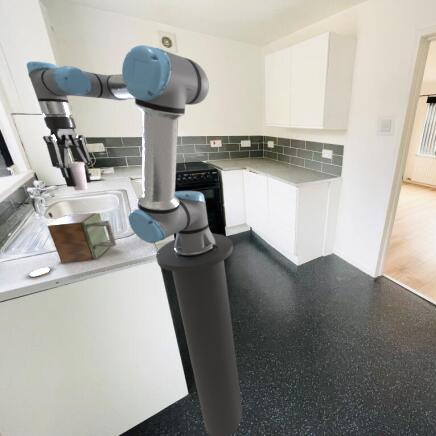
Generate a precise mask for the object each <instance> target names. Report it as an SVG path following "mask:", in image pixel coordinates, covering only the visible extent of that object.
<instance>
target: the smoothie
mask: <svg viewBox="0 0 436 436" xmlns="http://www.w3.org/2000/svg"><path fill="white" fill-rule="evenodd" d="M67 154H68V160H69V161H70V162H69V161H68V168H71V170H72V173H73V176H74V179H75V183H76V186H75V187H73V189H74V191H85V190H88V189H89V187H88V183H87V181H86V174H85V167H84V165H85V163H84V162H78V161H73V159H72V156H71V155H72V154H71V153H70V150H69V149H67ZM62 164H63V163H62Z"/></svg>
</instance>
